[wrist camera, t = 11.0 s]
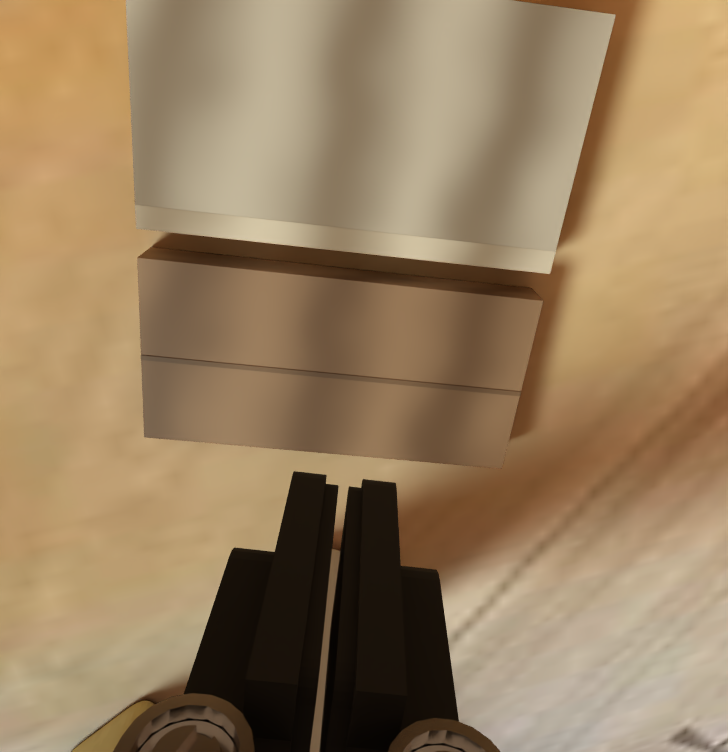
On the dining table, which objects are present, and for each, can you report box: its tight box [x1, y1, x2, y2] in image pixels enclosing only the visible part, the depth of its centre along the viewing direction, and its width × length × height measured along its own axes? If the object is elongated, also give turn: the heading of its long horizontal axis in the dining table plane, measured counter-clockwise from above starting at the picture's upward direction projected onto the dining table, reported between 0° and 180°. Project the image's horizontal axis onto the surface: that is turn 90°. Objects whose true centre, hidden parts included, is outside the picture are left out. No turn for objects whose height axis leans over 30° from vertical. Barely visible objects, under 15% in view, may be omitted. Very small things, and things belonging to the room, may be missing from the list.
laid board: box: [137, 247, 543, 469], centre depth 30 cm, size 18×9×2 cm, turn 83°
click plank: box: [126, 0, 616, 274], centre depth 25 cm, size 18×10×2 cm, turn 83°
